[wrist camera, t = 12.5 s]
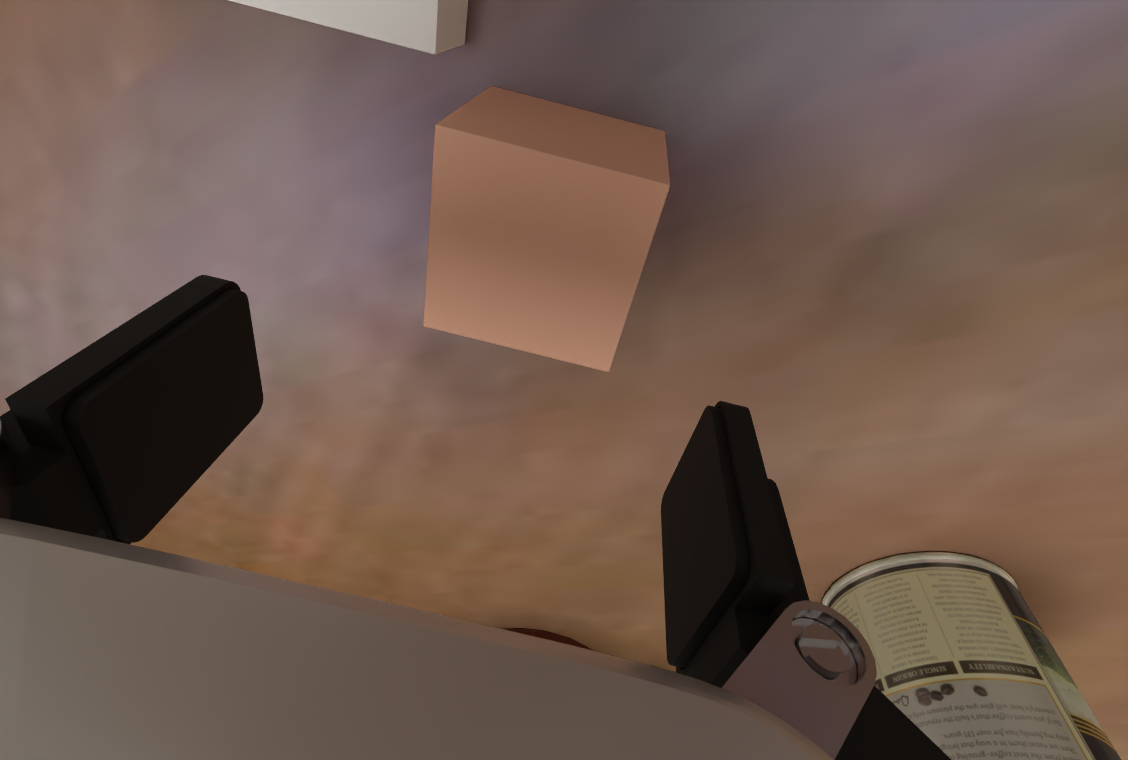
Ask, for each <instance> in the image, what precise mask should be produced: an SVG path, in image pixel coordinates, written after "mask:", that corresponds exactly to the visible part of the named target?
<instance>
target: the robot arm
mask: <svg viewBox="0 0 1128 760" xmlns="http://www.w3.org/2000/svg"><path fill="white" fill-rule="evenodd" d="M5 400H6V402H7V403H8V405H9V407H10V409H11V410H10V411H8V412H7V413H5V414H3V415H2V416H0V760H951V759H950V758H949V757H948V756H947V755H946V754H945V753H944V752H943V751H942V750H941V749H940V748H939V747H938V746H937V745H936V744H935V743H934V742H933V741H932V740H931V739H930V738H929V737H928V736H926V735H925V734H924V733H923V732H922V731H921V730H920V729H919V728H918V727H917V726H916V725H915V724H914V723H913V722H912V721H911V720H910V719H909V718H908V717H907V716H906V715H905V714H904V713H903V712H902V711H901V710H899V709H898V708H897V707H896V706H895V705H894V704H893V703H892V702H891V701H890V700H889V699H888V698H887V697H886V696H885V695H884V694H883V693H882V692H881V691H880V690H879V689H878V688H877V687H876V686H875V685H874V684H875V680H876V676H877V670H876V663H875V658H874V656H873V653H872V651H871V649H870V646H869V644H868V643H867V641H866V640H865V638H864V637H863V636H862V634H861V633H860V631H859V630H858V629H857V628H856V627H855V626H854V625H853V624H852V623H851V622H850V621H849V620H848V619H847V618H846V617H844V616H843V615H841V614H840V613H839V612H837V611H836V610H834V609H833V608H831V607H828V606H826V605H824V604H821V603H819V602H813V601H809V597H808V594H807V590H806V587H805V583H804V580H803V576H802V572H801V569H800V565H799V562H798V558H797V555H796V551H795V547H794V544H793V540H792V537H791V533H790V529H789V526H788V522H787V519H786V515H785V512H784V508H783V504H782V501H781V497H780V494H779V490H778V488H777V485H776V483H775V482H774V481H773V480H771V479H768V478H767V475H766V471H765V467H764V463H763V459H762V456H761V452H760V448H759V444H758V440H757V437H756V433H755V429H754V425H753V421H752V418H751V414H750V411H749V409H748V408H747V407H743V406H739V405H735V404H731V403H727V402H723V401H719V402H718V403H717V404H716V405H715V407H713V406H707V407H706V408H705V410H704V412H703V414H702V416H701V418H700V420H699V422H698V424H697V426H696V428H695V430H694V432H693V434H692V436H691V439H690V441H689V443H688V445H687V447H686V449H685V451H684V453H683V455H682V457H681V459H680V461H679V463H678V465H677V467H676V470H675V472H674V474H673V476H672V478H671V480H670V482H669V484H668V486H667V488H666V490H665V492H664V495H663V498H662V504H661V523H662V547H663V572H664V597H665V622H666V647H667V660H668V663H669V664H670V665H673V666H676V673H675V672H672V671H669V670H665V669H662V668H659V667H655V666H651V665H647V664H644V663H640V662H636V661H632V660H628V659H624V658H620V657H616V656H612V655H608V654H604V653H600V652H596V651H592V650H588V649H584V648H580V647H576V646H572V645H568V644H564V643H559V642H555V641H551V640H547V639H542V638H538V637H534V636H529V635H525V634H521V633H517V632H512V631H508V630H504V629H499V628H495V627H491V626H487V625H482V624H478V623H474V622H469V621H465V620H461V619H457V618H452V617H448V616H444V615H439V614H435V613H431V612H427V611H422V610H418V609H413V608H409V607H405V606H400V605H396V604H392V603H387V602H383V601H378V600H374V599H370V598H365V597H361V596H357V595H352V594H348V593H344V592H339V591H335V590H330V589H326V588H322V587H317V586H313V585H308V584H304V583H299V582H295V581H291V580H286V579H282V578H277V577H273V576H269V575H264V574H260V573H255V572H251V571H247V570H242V569H238V568H233V567H229V566H224V565H220V564H215V563H211V562H206V561H202V560H197V559H193V558H188V557H184V556H179V555H175V554H170V553H166V552H161V551H157V550H152V549H148V548H143V547H139V546H134V545H130V544H131V543H132V542H133V543H134V542H138V541H140V540H142V539H143V538H144V537H145V536H146V535H147V534H148V533H149V532H150V531H151V530H152V529H153V528H154V527H155V526H156V525H157V523H158V522H159V521H160V520H161V519H162V518H163V517H164V516H165V515H166V514H167V513H168V511H169V510H170V509H171V508H172V507H173V506H174V505H175V504H176V503H177V502H178V500H179V499H180V498H181V497H182V496H183V495H184V494H185V493H186V492H187V491H188V490H189V488H190V487H191V486H192V485H193V484H194V483H195V482H196V481H197V480H198V479H199V478H200V476H201V475H202V474H203V473H204V472H205V471H206V470H207V469H208V468H209V467H210V466H211V464H212V463H213V462H214V461H215V460H216V459H217V458H218V457H219V456H220V455H221V453H222V452H223V451H224V450H225V449H226V448H227V447H228V446H229V445H230V444H231V443H232V441H233V440H234V439H235V438H236V437H237V436H238V435H239V434H240V433H241V432H242V431H243V429H244V428H245V427H246V426H247V425H248V424H249V423H250V422H251V421H252V420H253V418H254V417H255V416H256V415H257V414H258V413H259V411H260V409H261V407H262V404H263V392H262V385H261V379H260V372H259V366H258V360H257V353H256V347H255V340H254V334H253V328H252V321H251V315H250V308H249V302H248V298H247V295H246V294H245V293H244V292H242V291H241V290H240V287H239V286H238V285H237V284H236V283H235V282H232V281H228V280H224V279H220V278H216V277H212V276H207V275H201V276H198V277H196V278H195V279H193V280H192V281H190V282H188V283H187V284H185V285H184V286H182V287H181V288H179V289H177V290H176V291H174V292H173V293H171V294H170V295H168V296H166V297H165V298H163V299H162V300H160V301H159V302H157V303H155V304H154V305H152V306H151V307H149V308H148V309H146V310H144V311H143V312H141V313H140V314H138V315H137V316H135V317H133V318H132V319H130V320H129V321H127V322H125V323H124V324H122V325H121V326H119V327H118V328H116V329H114V330H113V331H111V332H110V333H108V334H107V335H105V336H103V337H102V338H100V339H99V340H97V341H96V342H94V343H92V344H91V345H89V346H88V347H86V348H85V349H83V350H81V351H80V352H78V353H77V354H75V355H74V356H72V357H70V358H69V359H67V360H66V361H64V362H62V363H61V364H59V365H58V366H56V367H55V368H53V369H51V370H50V371H48V372H47V373H45V374H44V375H42V376H40V377H39V378H37V379H36V380H34V381H33V382H31V383H29V384H28V385H26V386H25V387H23V388H22V389H20V390H18V391H17V392H15V393H14V394H12V395H11V396H9V397H7V398H6V399H5Z"/></svg>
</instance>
